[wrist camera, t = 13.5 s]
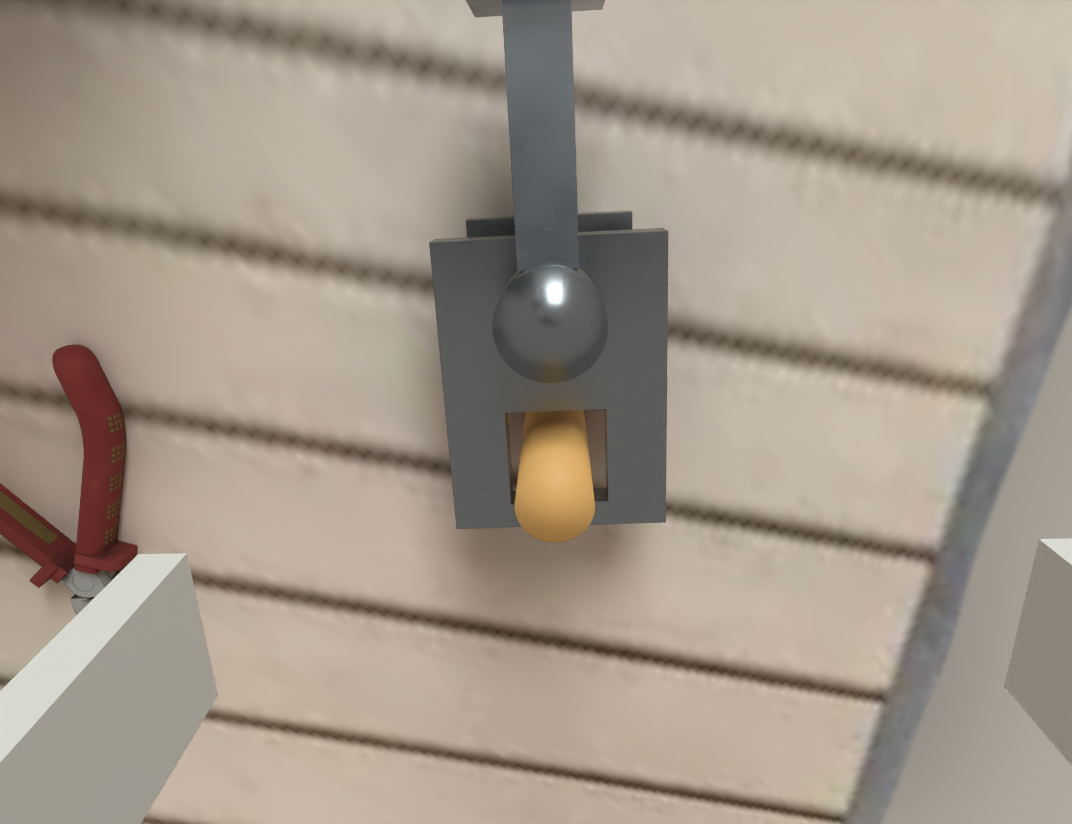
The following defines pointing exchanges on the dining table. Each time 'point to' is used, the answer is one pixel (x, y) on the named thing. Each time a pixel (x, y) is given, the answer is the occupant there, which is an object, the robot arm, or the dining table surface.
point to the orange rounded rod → (554, 476)
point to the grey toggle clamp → (551, 300)
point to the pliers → (100, 490)
